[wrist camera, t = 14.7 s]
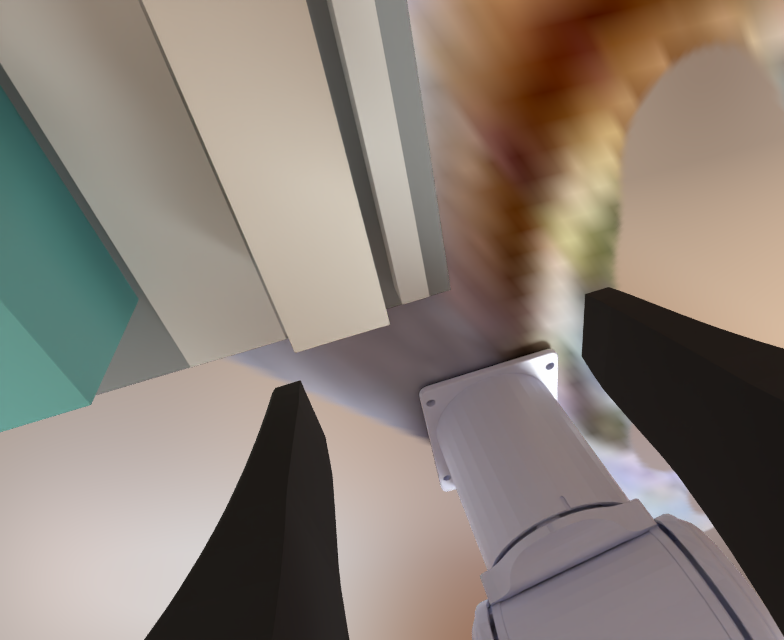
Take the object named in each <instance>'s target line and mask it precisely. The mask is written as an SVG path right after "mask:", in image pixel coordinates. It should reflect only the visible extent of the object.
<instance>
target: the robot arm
mask: <svg viewBox="0 0 784 640" xmlns="http://www.w3.org/2000/svg"><path fill="white" fill-rule="evenodd" d="M582 358H583V359H584V361H585V362H586V364H587V365H588V367H589V369H590V370H591V372H592V373H593V375H594V376H595V378H596V379H597V381H598V382H599V384H600V385H601V387H602V388H603V389H604V391H605V392H606V393H607V394H608V395H609V397H610V398H611V399H612V400H613V401H614V402H615V403H616V405H617V406H618V407H619V408H620V409H621V410H622V412H623V413H624V414H625V415H626V416H627V417H628V418H629V419H630V421H631V422H632V423H633V424H634V425H635V426H636V427H637V429H638V430H639V431H640V432H641V433H642V434H643V435H644V436H645V438H647V440H648V441H649V442H650V443H651V444H652V445H653V447H654V448H655V449H656V450H657V451H658V452H659V453H660V454H661V456H662V457H663V458H664V459H665V460H666V462H667V463H668V464H669V465H670V466H671V468H672V469H673V470H674V471H675V473H676V474H677V475H678V476H679V478H680V479H681V480H682V482H683V483H684V485H685V486H686V487H687V489H688V490H689V492H690V493H691V494H692V496H693V497H694V498H695V500H696V501H697V503H698V504H699V505H700V507H701V508H702V510H703V511H704V512H705V514H706V515H707V517H708V518H709V520H710V521H711V523H712V524H713V526H714V527H715V529H716V530H717V532H718V533H719V535H720V536H721V537H722V539H723V540H724V542H725V543H726V545H727V546H728V548H729V549H730V551H731V552H732V554H733V555H734V557H735V558H736V560H737V562H738V563H739V565H740V566H741V568H742V569H743V571H744V573H745V574H746V576H747V577H748V579H749V580H750V582H751V584H752V585H753V587H754V588H755V590H756V591H757V593H758V595H759V596H760V598H761V599H762V601H763V602H762V601H761V599H760V598H759V597H758V595H757V594H756V593H755V591H754V590H753V589H752V587H751V586H750V585H749V583H748V582H747V581H746V579H745V578H744V577H743V576H742V574H741V573H740V572H739V571H738V569H736V567H735V566H734V565H733V563H732V562H731V561H730V560H729V559H728V558H727V556H726V555H725V554H724V553H723V552H722V551H721V550H720V549H719V547H718V546H717V545H716V544H715V543H714V542H713V541H712V540H711V539H710V538H709V537H708V536H707V535H706V534H705V533H704V532H702V531H701V530H700V529H699V528H698V527H696V526H695V525H693V524H692V523H689V522H687V521H684V520H681V519H678V518H676V517H675V516H673V515H670V514H663V515H661V516H659V517H657V518H655V519H653V518H652V516H651V515H650V514H649V512H648V511H647V510H646V508H645V507H644V506H643V504H642V503H641V502H640V500H639V499H633V500H631V501H630V500H629V499H628V498H627V496H626V495H625V494H624V492H623V491H622V489H621V488H620V487H619V485H618V484H617V483H616V481H615V480H614V478H613V477H612V476H611V474H610V473H609V472H608V470H607V469H606V467H605V466H604V465H603V463H602V462H601V461H600V459H599V458H598V457H597V455H596V454H595V452H594V451H593V450H592V448H591V447H590V446H589V444H588V443H587V441H586V440H585V439H584V437H583V436H582V435H581V433H580V432H579V430H578V429H577V428H576V426H575V425H574V424H573V422H572V421H571V419H570V418H569V417H568V415H567V414H566V413H565V411H564V410H563V409H562V407H561V406H560V404H559V403H558V402H557V391H558V354H557V353H556V352H555V351H554V350H553V349H546V350H542V351H539V352H536V353H533V354H529V355H526V356H523V357H520V358H516V359H513V360H510V361H507V362H504V363H500V364H497V365H494V366H491V367H487V368H484V369H481V370H478V371H474V372H471V373H468V374H465V375H461V376H458V377H455V378H452V379H448V380H445V381H442V382H439V383H436V384H432V385H429V386H426V387H424V388H422V389H421V390H420V392H419V397H420V401H421V406H422V410H423V414H424V418H425V422H426V426H427V431H428V435H429V439H430V443H431V447H432V452H433V456H434V460H435V464H436V468H437V472H438V477H439V481H440V485H441V488H442V490H444V491H451V490H454V489H456V490H457V492H458V495H459V497H460V500H461V503H462V505H463V508H464V510H465V513H466V516H467V518H468V521H469V523H470V526H471V528H472V531H473V534H474V536H475V539H476V541H477V544H478V547H479V549H480V552H481V554H482V557H483V559H484V562H485V565H486V567H487V570H488V571H486V572H484V573H482V574H481V575H480V578H481V581H482V583H483V586H484V589H485V592H486V594H487V597H488V599H487V600H485V601H483V602H480V603H479V604H478V605H477V607H476V611H475V619H474V623H473V627H472V640H784V349H783V348H780V347H776V346H773V345H769V344H766V343H763V342H759V341H756V340H753V339H750V338H747V337H744V336H741V335H738V334H735V333H732V332H729V331H726V330H723V329H719V328H717V327H714V326H711V325H708V324H706V323H703V322H700V321H697V320H695V319H692V318H689V317H687V316H684V315H681V314H678V313H676V312H674V311H671V310H668V309H666V308H663V307H660V306H658V305H656V304H653V303H650V302H647V301H645V300H643V299H640V298H637V297H635V296H632V295H630V294H627V293H624V292H621V291H619V290H616V289H613V288H609V287H608V288H604V289H601V290H598V291H594V292H591V293H588V294H585V308H584V326H583V343H582ZM547 364H548V365H547ZM429 400H432V401H430V402H428V401H429ZM763 603H764V604H765V605H764V604H763ZM144 640H349V635H348V629H347V623H346V616H345V610H344V604H343V598H342V592H341V584H340V574H339V565H338V549H337V534H336V520H335V504H334V490H333V477H332V470H331V464H330V459H329V454H328V449H327V443H326V438H325V435H324V433H323V430H322V428H321V426H320V424H319V421H318V419H317V417H316V415H315V412H314V410H313V408H312V406H311V403H310V401H309V399H308V397H307V394H306V392H305V390H304V388H303V385H302V383H301V381H297V382H294V383H291V384H287V385H284V386H281V387H277V388H275V390H274V391H273V393H272V396H271V399H270V402H269V405H268V408H267V411H266V414H265V417H264V420H263V422H262V425H261V428H260V431H259V433H258V436H257V439H256V441H255V444H254V446H253V449H252V451H251V454H250V456H249V459H248V461H247V463H246V466H245V468H244V471H243V473H242V475H241V477H240V479H239V481H238V483H237V486H236V488H235V490H234V492H233V494H232V496H231V498H230V501H229V503H228V505H227V507H226V509H225V511H224V513H223V515H222V517H221V519H220V521H219V522H218V524H217V526H216V528H215V530H214V532H213V534H212V535H211V537H210V539H209V541H208V542H207V544H206V546H205V548H204V550H203V551H202V553H201V555H200V556H199V558H198V559H197V561H196V563H195V565H194V566H193V568H192V569H191V571H190V573H189V574H188V576H187V577H186V579H185V581H184V582H183V584H182V585H181V587H180V589H179V590H178V592H177V593H176V595H175V596H174V598H173V599H172V601H171V602H170V604H169V605H168V607H167V608H166V610H165V611H164V613H163V614H162V615H161V617H160V618H159V620H158V621H157V623H156V624H155V625H154V627H153V628H152V630H151V631H150V632H149V634H148V635H147V637H146V638H145V639H144Z"/></svg>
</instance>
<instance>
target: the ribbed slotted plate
mask: <svg viewBox="0 0 784 640" xmlns="http://www.w3.org/2000/svg"><path fill="white" fill-rule="evenodd" d="M306 3H307V6H308V10H309V14H310V18H311V22H312V26H313V30H314V33H315V37H316V41H317V45H318V49H319V53H320V57H321V60H322V64H323V68H324V72H325V76H326V80H327V84H328V87H329V91H330V95H331V99H332V103H333V107H334V111H335V114H336V118H337V122H338V126H339V130H340V134H341V138H342V141H343V145H344V149H345V153H346V157H347V161H348V165H349V168H350V172H351V176H352V180H353V184H354V188H355V192H356V195H357V199H358V203H359V207H360V211H361V215H362V219H363V222H364V226H365V230H366V234H367V238H368V242H369V246H370V249H371V253H372V257H373V261H374V265H375V269H376V273H377V276H378V280H379V284H380V288H381V292H382V296H383V300H384V303H385V307H386V309H388V308H392V307H395V306H398V305H403V304H407V303H410V302H413V301H417V300H420V299H424V298H427V297H430V296H432V295H435V294H439V293H442V292H445V291H449V290H451V289H450V282H449V276H448V269H447V263H446V256H445V249H444V243H443V236H442V230H441V223H440V216H439V210H438V203H437V197H436V190H435V183H434V177H433V170H432V164H431V157H430V150H429V144H428V137H427V131H426V124H425V117H424V111H423V104H422V98H421V91H420V84H419V78H418V71H417V65H416V58H415V51H414V45H413V38H412V32H411V25H410V18H409V12H408V5H407V0H306ZM0 85H1V87H2V88H3V90H4V92H5V93H6V95H7V96H8V98H9V99H10V101H11V102H12V104H13V105H14V107H15V109H16V110H17V112H18V113H19V115H20V116H21V118H22V119H23V121H24V122H25V124H26V126H27V127H28V129H29V130H30V132H31V133H32V135H33V136H34V138H35V139H36V141H37V143H38V144H39V146H40V147H41V149H42V150H43V152H44V153H45V155H46V157H47V158H48V160H49V161H50V163H51V164H52V166H53V167H54V169H55V170H56V172H57V174H58V175H59V177H60V178H61V180H62V181H63V183H64V184H65V186H66V187H67V189H68V191H69V192H70V194H71V195H72V197H73V198H74V200H75V201H76V203H77V204H78V206H79V208H80V209H81V211H82V212H83V214H84V215H85V217H86V218H87V220H88V221H89V223H90V225H91V226H92V228H93V229H94V231H95V232H96V234H97V235H98V237H99V238H100V240H101V242H102V243H103V245H104V246H105V248H106V249H107V251H108V252H109V254H110V255H111V257H112V259H113V260H114V262H115V263H116V265H117V266H118V268H119V269H120V271H121V272H122V274H123V276H124V277H125V279H126V280H127V282H128V283H129V285H130V286H131V288H132V289H133V291H134V293H135V294H136V296H137V297H138V299H139V300H138V303H137V305H136V307H135V309H134V311H133V314H132V316H131V318H130V320H129V322H128V324H127V327H126V329H125V331H124V333H123V335H122V338H121V340H120V342H119V344H118V346H117V349H116V351H115V353H114V355H113V357H112V360H111V362H110V364H109V366H108V368H107V371H106V373H105V375H104V377H103V379H102V382H101V384H100V386H99V388H98V390H97V393H96V395H99V394H102V393H105V392H109V391H112V390H115V389H119V388H122V387H126V386H129V385H132V384H136V383H139V382H142V381H146V380H149V379H152V378H156V377H159V376H162V375H166V374H169V373H173V372H176V371H179V370H182V369H186V368H190V367H195V366H198V365H201V364H205V363H208V362H211V361H215V360H218V359H222V358H225V357H228V356H232V355H235V354H238V353H242V352H245V351H248V350H252V349H255V348H259V347H262V346H265V345H269V344H272V343H275V342H279V341H282V340H285V339H287V338H288V336H287V333H286V331H285V329H284V326H283V324H282V322H281V319H280V317H279V315H278V313H277V310H276V308H275V306H274V303H273V301H272V299H271V296H270V294H269V292H268V290H267V287H266V285H265V283H264V280H263V278H262V276H261V273H260V271H259V269H258V266H257V264H256V262H255V260H254V257H253V255H252V253H251V250H250V248H249V246H248V243H247V241H246V239H245V237H244V234H243V232H242V230H241V227H240V225H239V223H238V220H237V218H236V216H235V213H234V211H233V209H232V207H231V204H230V202H229V200H228V197H227V195H226V193H225V190H224V188H223V186H222V183H221V181H220V179H219V177H218V174H217V172H216V170H215V167H214V165H213V163H212V160H211V158H210V156H209V154H208V151H207V149H206V147H205V144H204V142H203V140H202V137H201V135H200V133H199V130H198V128H197V126H196V124H195V121H194V119H193V117H192V114H191V112H190V110H189V107H188V105H187V103H186V100H185V98H184V96H183V94H182V91H181V89H180V87H179V84H178V82H177V80H176V77H175V75H174V73H173V71H172V68H171V66H170V64H169V61H168V59H167V57H166V54H165V52H164V50H163V47H162V45H161V43H160V41H159V38H158V36H157V34H156V31H155V29H154V27H153V24H152V22H151V20H150V18H149V15H148V13H147V11H146V8H145V6H144V4H143V1H142V0H0Z"/></svg>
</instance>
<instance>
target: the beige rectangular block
mask: <svg viewBox="0 0 784 640" xmlns="http://www.w3.org/2000/svg"><path fill="white" fill-rule="evenodd" d="M142 1H143V4H144V6H145V8H146V11H147V13H148V15H149V18H150V20H151V22H152V24H153V27H154V29H155V31H156V34H157V36H158V38H159V41H160V43H161V45H162V47H163V50H164V52H165V54H166V57H167V59H168V61H169V64H170V66H171V68H172V71H173V73H174V75H175V77H176V80H177V82H178V84H179V87H180V89H181V91H182V94H183V96H184V98H185V100H186V103H187V105H188V107H189V110H190V112H191V114H192V117H193V119H194V121H195V124H196V126H197V128H198V130H199V133H200V135H201V137H202V140H203V142H204V144H205V147H206V149H207V151H208V154H209V156H210V158H211V160H212V163H213V165H214V167H215V170H216V172H217V174H218V177H219V179H220V181H221V183H222V186H223V188H224V190H225V193H226V195H227V197H228V200H229V202H230V204H231V207H232V209H233V211H234V213H235V216H236V218H237V220H238V223H239V225H240V227H241V230H242V232H243V234H244V237H245V239H246V241H247V243H248V246H249V248H250V250H251V253H252V255H253V257H254V260H255V262H256V264H257V266H258V269H259V271H260V273H261V276H262V278H263V280H264V283H265V285H266V287H267V290H268V292H269V294H270V296H271V299H272V301H273V303H274V306H275V308H276V310H277V313H278V315H279V317H280V319H281V322H282V324H283V326H284V329H285V331H286V333H287V336H288V338H289V340H290V343H291V345H292V347H293V349H294V352H295V353H297V352H300V351H303V350H307V349H310V348H313V347H317V346H320V345H323V344H327V343H330V342H333V341H337V340H340V339H343V338H347V337H350V336H353V335H357V334H360V333H363V332H367V331H370V330H373V329H377V328H380V327H383V326H387V325H390V323H389V319H388V315H387V311H386V307H385V303H384V300H383V296H382V292H381V288H380V284H379V280H378V276H377V273H376V269H375V265H374V261H373V257H372V253H371V249H370V246H369V242H368V238H367V234H366V230H365V226H364V222H363V219H362V215H361V211H360V207H359V203H358V199H357V195H356V192H355V188H354V184H353V180H352V176H351V172H350V168H349V165H348V161H347V157H346V153H345V149H344V145H343V141H342V138H341V134H340V130H339V126H338V122H337V118H336V114H335V111H334V107H333V103H332V99H331V95H330V91H329V87H328V84H327V80H326V76H325V72H324V68H323V64H322V60H321V57H320V53H319V49H318V45H317V41H316V37H315V33H314V30H313V26H312V22H311V18H310V14H309V10H308V6H307V3H306V0H142Z"/></svg>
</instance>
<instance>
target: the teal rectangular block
mask: <svg viewBox="0 0 784 640" xmlns="http://www.w3.org/2000/svg"><path fill="white" fill-rule="evenodd" d="M138 300H139V299H138V297H137V296H136V294H135V293H134V291H133V289H132V288H131V286H130V285H129V283H128V282H127V280H126V279H125V277H124V276H123V274H122V272H121V271H120V269H119V268H118V266H117V265H116V263H115V262H114V260H113V259H112V257H111V255H110V254H109V252H108V251H107V249H106V248H105V246H104V245H103V243H102V242H101V240H100V238H99V237H98V235H97V234H96V232H95V231H94V229H93V228H92V226H91V225H90V223H89V221H88V220H87V218H86V217H85V215H84V214H83V212H82V211H81V209H80V208H79V206H78V204H77V203H76V201H75V200H74V198H73V197H72V195H71V194H70V192H69V191H68V189H67V187H66V186H65V184H64V183H63V181H62V180H61V178H60V177H59V175H58V174H57V172H56V170H55V169H54V167H53V166H52V164H51V163H50V161H49V160H48V158H47V157H46V155H45V153H44V152H43V150H42V149H41V147H40V146H39V144H38V143H37V141H36V139H35V138H34V136H33V135H32V133H31V132H30V130H29V129H28V127H27V126H26V124H25V122H24V121H23V119H22V118H21V116H20V115H19V113H18V112H17V110H16V109H15V107H14V105H13V104H12V102H11V101H10V99H9V98H8V96H7V95H6V93H5V92H4V90H3V88H2V87H1V85H0V432H3V431H6V430H9V429H13V428H16V427H19V426H22V425H26V424H29V423H32V422H36V421H39V420H42V419H46V418H49V417H52V416H56V415H59V414H62V413H66V412H69V411H72V410H76V409H79V408H82V407H86V406H89V405H91V404H92V401H93V399H94V397H95V395H96V393H97V390H98V388H99V386H100V384H101V382H102V379H103V377H104V375H105V373H106V371H107V368H108V366H109V364H110V362H111V360H112V357H113V355H114V353H115V351H116V349H117V346H118V344H119V342H120V340H121V338H122V335H123V333H124V331H125V329H126V327H127V324H128V322H129V320H130V318H131V316H132V314H133V311H134V309H135V307H136V305H137V303H138Z"/></svg>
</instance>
